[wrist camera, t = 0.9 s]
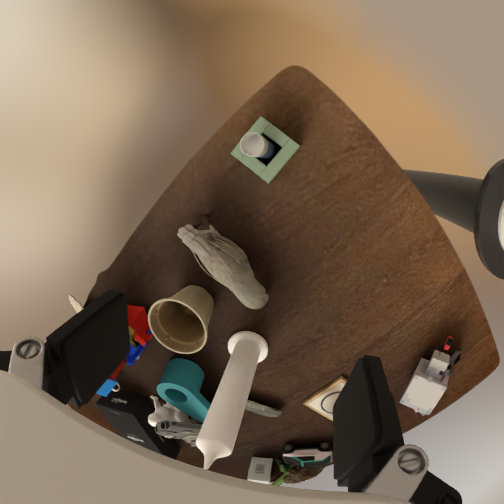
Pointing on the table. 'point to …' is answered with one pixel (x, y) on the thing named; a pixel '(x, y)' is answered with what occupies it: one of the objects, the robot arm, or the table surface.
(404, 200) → the table surface
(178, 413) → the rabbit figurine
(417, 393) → the toy
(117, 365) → the robot arm
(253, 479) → the cosmetic box
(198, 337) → the flower pot
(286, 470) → the decorative plant
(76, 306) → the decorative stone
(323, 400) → the framed picture
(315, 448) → the toy car
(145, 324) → the toy train
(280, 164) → the pen stand
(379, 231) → the table surface
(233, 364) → the candle
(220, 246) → the decorative bird
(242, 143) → the marker
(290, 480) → the concrete sample
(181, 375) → the teal mechanical bracket
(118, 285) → the table surface
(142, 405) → the box
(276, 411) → the stone
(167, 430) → the toy gun
